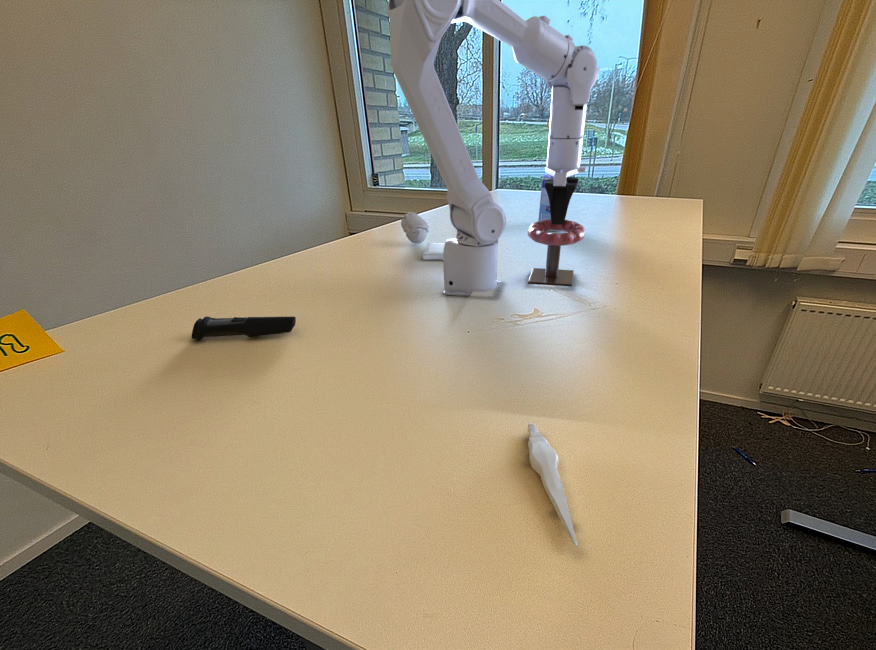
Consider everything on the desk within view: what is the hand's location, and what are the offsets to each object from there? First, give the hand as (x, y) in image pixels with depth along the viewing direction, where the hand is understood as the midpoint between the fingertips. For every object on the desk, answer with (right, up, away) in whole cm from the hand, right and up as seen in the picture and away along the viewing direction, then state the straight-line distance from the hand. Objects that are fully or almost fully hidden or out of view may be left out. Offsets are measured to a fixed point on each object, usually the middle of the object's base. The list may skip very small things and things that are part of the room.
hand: (557, 222), depth 81 cm
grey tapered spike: (-9, -41, -41) cm, 59 cm away
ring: (-1, -3, -3) cm, 4 cm away
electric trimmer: (-51, -23, -14) cm, 58 cm away
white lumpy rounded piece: (-30, +9, +23) cm, 39 cm away
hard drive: (-20, 0, +18) cm, 27 cm away
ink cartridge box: (+5, +14, +37) cm, 40 cm away
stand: (-1, -10, +3) cm, 11 cm away
